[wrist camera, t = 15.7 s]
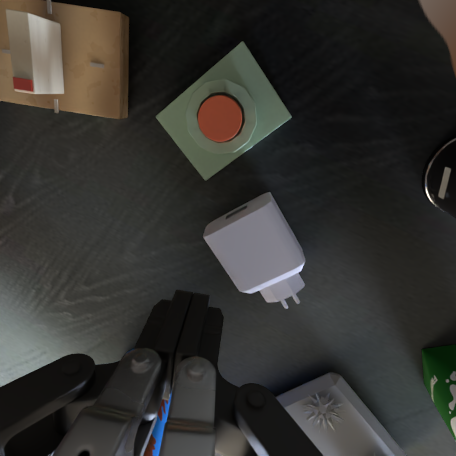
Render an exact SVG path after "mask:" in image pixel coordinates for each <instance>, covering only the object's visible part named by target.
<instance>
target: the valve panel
mask: <svg viewBox="0 0 456 456" xmlns="http://www.w3.org/2000/svg"><path fill="white" fill-rule="evenodd" d="M6 9H10V10H16V11H22V12H28V13H31V14H34V15H37V16H40V17H42V18H45V19H48V20H51V21H54V22H57V23H60V26H61V45H62V63H63V81H64V94H32V93H25V92H19V91H15V90H14V85H13V72H12V63H11V54H10V45H9V36H8V27H7V18H6ZM128 61H129V17H127V16H126V15H124V14H122V13H121V12H116V11H110V10H103V9H96V8H90V7H83V6H76V5H70V4H63V3H56V2H51V0H47V1H43V0H0V101H6V102H12V103H19V104H25V105H31V106H38V107H44V108H51V109H55V113H59V110H64V111H70V112H77V113H83V114H89V115H96V116H102V117H109V118H115V119H122V118H127V117H128Z"/></svg>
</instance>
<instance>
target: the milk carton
mask: <svg viewBox="0 0 456 456" xmlns="http://www.w3.org/2000/svg"><path fill="white" fill-rule="evenodd" d="M422 363H423V378H424V384H425V386H426V388H427V390H428V392H429V394H430V396H431V398H432V400H433V402H434V404H435V406H436V407H437V409H438V411H439V413H440V415H441V416H442V418H443V420H444V421H445V423H446V425H447V427H448V428H449V430H450V432H451V434H452V435H453V437H454V439H455V441H456V344H455V345H448V346H441V347H434V348H427V349H422Z"/></svg>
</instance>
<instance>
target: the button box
mask: <svg viewBox="0 0 456 456" xmlns="http://www.w3.org/2000/svg"><path fill="white" fill-rule="evenodd" d="M217 95H224V96H228V97H230V98H232V99H233V100H235V101H236V102H237V104H238V105H239V107H240V109H241V112H242V123H241V126H240V129H239V131H238V132H237V134H236V135H235V136H234V137H233V138H231V139H229V140H227V141H223V142H217V141H213V140H211V139H209V138H208V137H206V136H205V135H204V134H203V132H202V131H201V129H200V127H199V123H198V113H199V110H200V107H201V106H202V104H203V103H204V102H205V101H206V100H207V99H209V98H210V97H213V96H217ZM291 117H292V116H291V115H290V113H289V112H288V110H287V109H286V107H285V105H284V104H283V102H282V101H281V99H280V98H279V96H278V95H277V93H276V91H275V90H274V88H273V87H272V85H271V84H270V82H269V81H268V79H267V78H266V76H265V74H264V73H263V71H262V70H261V68H260V67H259V65H258V64H257V62H256V60H255V59H254V57H253V56H252V54H251V53H250V51H249V50H248V48H247V47H246V45H245V43H244V42H243V41H242V42H241V43H240V44H239V45H238V46H236V47H235V48H234V49H233V50H232V51H231V52H229V53H228V54H227V55H226V56H225V57H224V58H222V59H221V60H220V61H219V62H218V63H217V64H216V65H214V66H213V67H212V68H211V69H210V70H209V71H207V72H206V73H205V74H204V75H203V76H202V77H201V78H199V79H198V80H197V81H196V82H195V83H194V84H192V85H191V86H190V87H189V88H188V89H187V90H186V91H184V92H183V93H182V94H181V95H180V96H179V97H177V98H176V99H175V100H174V101H173V102H172V103H170V104H169V105H168V106H167V107H166V108H165V109H164V110H162V111H161V112H160V113H159V114H158V115H157V116H156V118H157V120H158V121H159V122H160V123H161V125H162V126H163V127H164V129H165V130H166V131H167V132H168V134H169V135H170V136H171V137H172V139H173V140H174V141H175V143H176V144H177V145H178V146H179V148H180V149H181V150H182V152H183V153H184V154H185V155H186V157H187V158H188V159H189V161H190V162H191V163H192V164H193V166H194V167H195V168H196V169H197V171H198V172H199V173H200V175H201V176H202V177H203V178H204V180H205V181H206V180H208V179H209V178H210V177H212V176H213V175H214V174H216V173H217V172H218V171H220V170H221V169H222V168H224V167H225V166H226V165H228V164H229V163H231V162H232V161H233V160H235V159H236V158H237V157H239V156H240V155H241V154H243V153H244V152H245V151H247V150H248V149H250V148H251V147H252V146H254V145H255V144H256V143H258V142H259V141H260V140H262V139H263V138H264V137H266V136H267V135H268V134H270V133H271V132H273V131H274V130H275V129H277V128H278V127H279V126H281V125H282V124H283V123H285V122H286V121H287V120H289V119H290V118H291Z"/></svg>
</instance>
